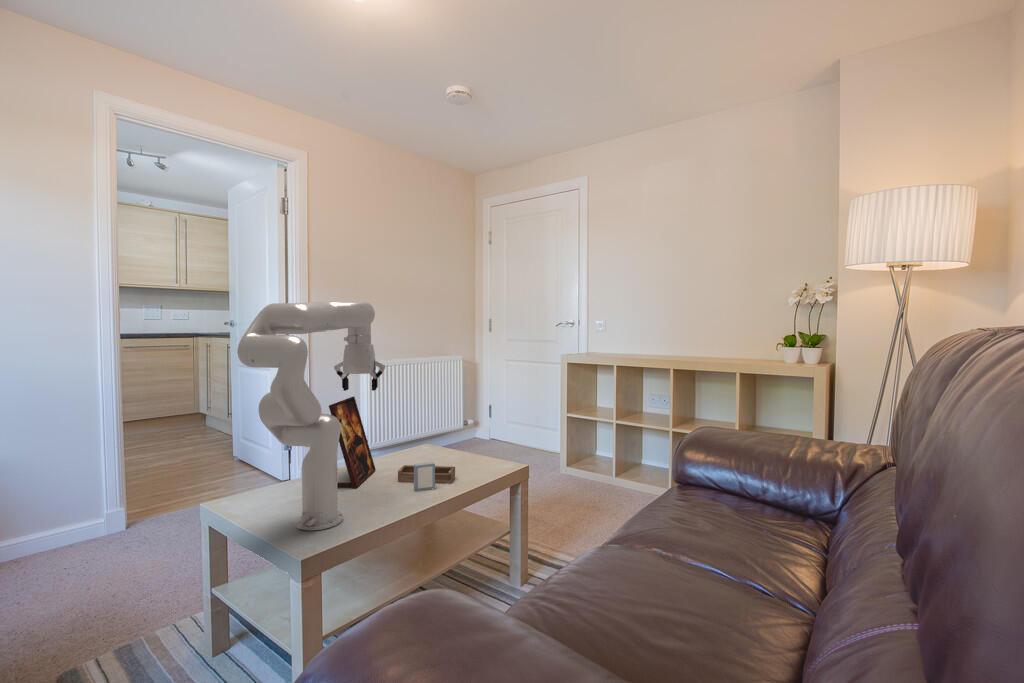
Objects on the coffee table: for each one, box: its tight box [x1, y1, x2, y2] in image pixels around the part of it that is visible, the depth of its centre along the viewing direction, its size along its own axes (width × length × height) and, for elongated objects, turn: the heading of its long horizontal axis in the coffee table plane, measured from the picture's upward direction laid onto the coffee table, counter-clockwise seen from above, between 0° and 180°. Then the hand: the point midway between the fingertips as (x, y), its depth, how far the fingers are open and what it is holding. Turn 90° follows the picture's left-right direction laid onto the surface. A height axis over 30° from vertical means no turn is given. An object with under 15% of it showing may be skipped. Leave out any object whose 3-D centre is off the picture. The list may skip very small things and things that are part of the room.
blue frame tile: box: [413, 461, 436, 492], centre depth 163 cm, size 2×7×9 cm, turn 114°
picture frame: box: [328, 395, 377, 489], centre depth 173 cm, size 21×11×30 cm, turn 179°
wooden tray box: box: [397, 464, 456, 484], centre depth 173 cm, size 7×20×4 cm, turn 84°
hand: (360, 390), depth 158 cm, fingers open, 9 cm apart
